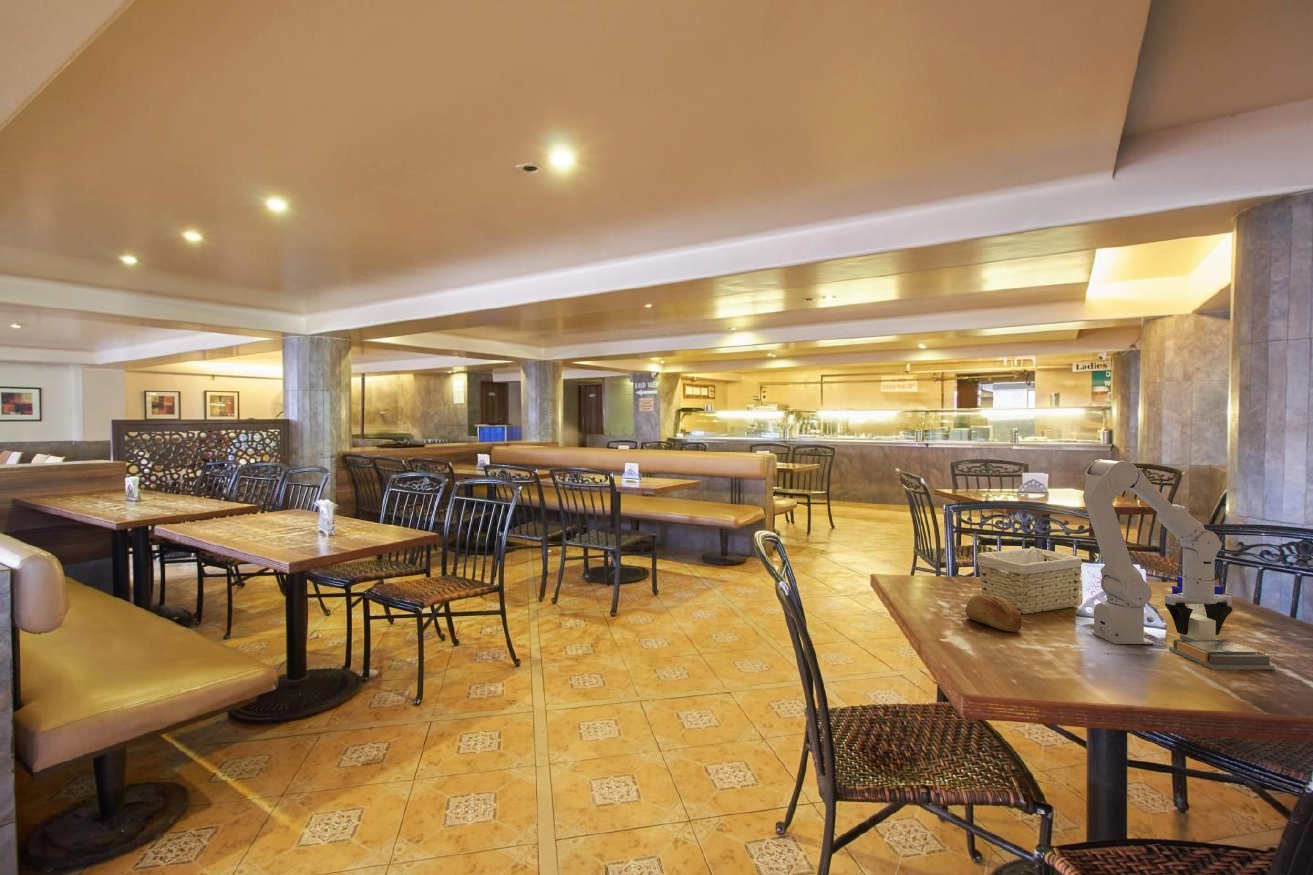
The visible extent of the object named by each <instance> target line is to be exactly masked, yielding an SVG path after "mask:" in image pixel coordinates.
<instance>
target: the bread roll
mask: <svg viewBox="0 0 1313 875" xmlns="http://www.w3.org/2000/svg"><path fill="white" fill-rule="evenodd" d="M965 614H966V616H967V617H968V618H969V620H972V621H975V622H978V623H981V624H984V625H987V626H988V627H989V626H990V627H992V628H995V629H997V630H1001V631H1005V632H1018V631H1020V630H1021V628H1022V626H1023V619H1022V616H1021V613H1019V611H1018V610H1017V608H1016V607H1015V606H1014V605H1013V604H1012V603H1010V602H1009V601H1007V600H1006V599H1004V598H1002V597H999V596H995V595H989V594H984V595H982V593H981V594H980V593H979V594H975V595H972V596H971V597H970V598H969V600H968V601H967V605H966V607H965Z"/></svg>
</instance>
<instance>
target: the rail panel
mask: <svg viewBox="0 0 1313 875" xmlns="http://www.w3.org/2000/svg"><path fill="white" fill-rule="evenodd" d="M1183 642H1234V643H1237V644H1239V645H1242V646H1245V647H1247V648H1250V649H1253V650H1255V651H1258V655H1209V656H1208V653H1207V652H1204V651H1202V650H1199V649H1197V648H1195V647H1192V646H1190V645H1187V644H1185V643H1183ZM1169 651H1170V652H1173V653H1175V654H1178V655H1179V656H1181V657H1185V658H1186V659H1189V660H1191V661H1193V662H1195V663H1198V664H1200V665H1202V666H1205V667H1207V668H1209V669H1212V670H1275V665H1273V664H1271V662H1270V661H1271V660H1270V657H1271V656H1270V655H1266V653H1265V652H1264V651H1261V650H1258V649H1255V648H1253V647H1250V646H1247V645H1245V644H1242V643H1240V642H1237V641H1234V640H1233V641H1230V640H1228V639H1215V640H1183V639H1173V646H1169Z"/></svg>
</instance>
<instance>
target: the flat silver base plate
mask: <svg viewBox="0 0 1313 875" xmlns="http://www.w3.org/2000/svg"><path fill="white" fill-rule="evenodd" d="M1234 642H1235V641H1234ZM1234 642H1231V641H1229V642H1183V643H1185V644H1187V645H1190V646H1192V647H1195V648H1197V649H1199V650H1202V651H1204V652H1207V653H1208V656H1209V655H1258V651H1255V650H1253V649H1254V648H1253V649H1250V648H1247V647H1245V646H1246V645H1245V646H1242V645H1243V644H1242V645H1239V644H1237V643H1238V642H1237V643H1234Z"/></svg>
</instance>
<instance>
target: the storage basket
mask: <svg viewBox="0 0 1313 875" xmlns="http://www.w3.org/2000/svg"><path fill="white" fill-rule="evenodd" d="M976 556H977V565H978V566H977V567H978V572H979V580H980V588H981V595H984V594H989V595H995V596H999V597H1002V598H1004V599H1006V600H1007V601H1009V602H1010V603H1012V604H1013V605H1014V606H1015V607H1016V608H1017V610H1018V611H1019V612H1020V613H1019V614H1022V613H1023V614H1022V615H1026V614H1027V613H1031V614H1034V612H1035V613H1042V612H1041V611H1044V612H1047V611H1054V610H1055V611H1056V610H1060V609H1066V608H1072V607H1077V606H1078V605H1079V596H1080V585H1081V582H1080V581H1081V577H1082V576H1081V574H1082V570H1081V568H1082V567H1081V565H1082V566H1083V562H1082V558H1081V557H1080V556H1076V555H1071V554H1067V553H1062V552H1058V551H1052V550H1048V549H1041V548H1037V547H1031V548H1018V549H1010V550H999V551H987V552H979V553H977V554H976ZM1045 560H1046V561H1045ZM1027 615H1028V614H1027Z"/></svg>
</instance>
